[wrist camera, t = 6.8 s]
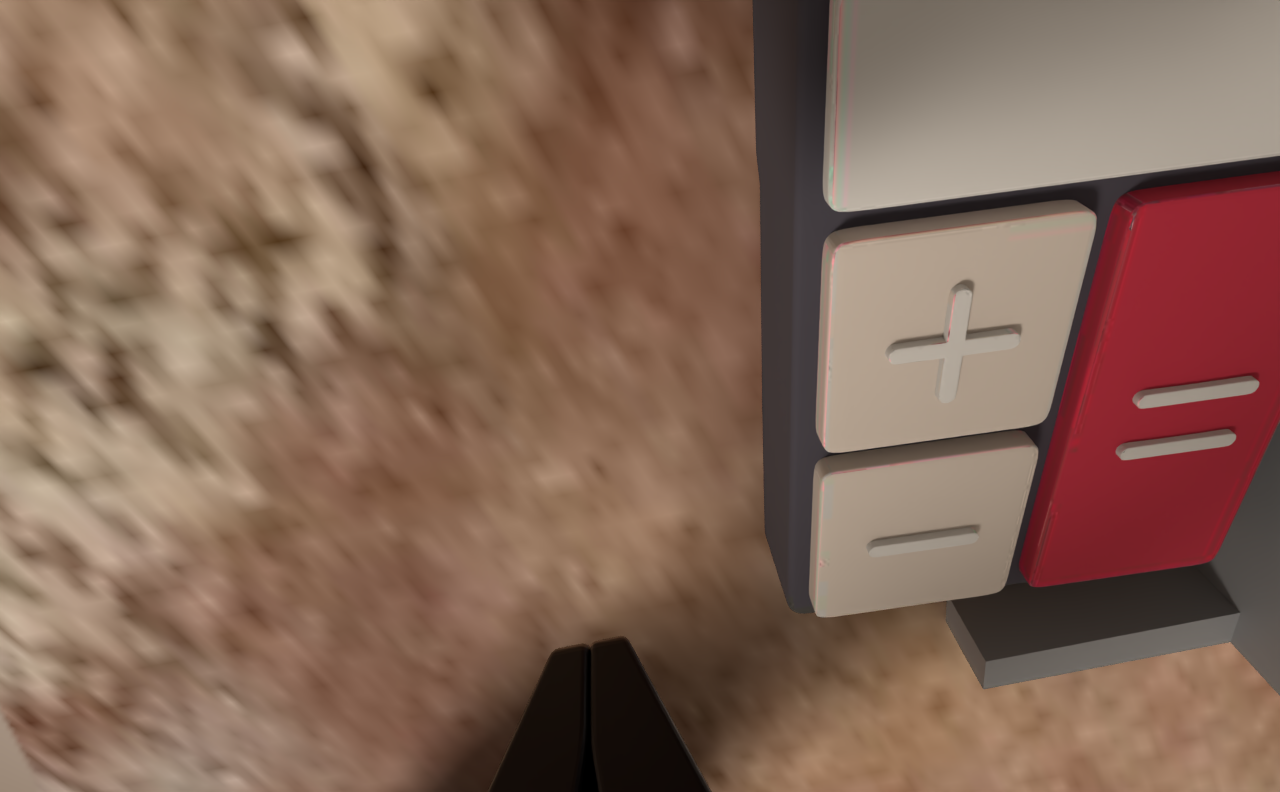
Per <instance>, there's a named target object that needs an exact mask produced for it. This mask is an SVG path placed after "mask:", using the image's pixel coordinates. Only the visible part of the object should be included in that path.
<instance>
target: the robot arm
mask: <svg viewBox="0 0 1280 792" xmlns="http://www.w3.org/2000/svg"><path fill="white" fill-rule="evenodd" d="M488 792H711V790H710V788H709V786H708V784H707V782H706V781H705V779H704V777H703V775H702V773H701V772H700V770H699V768H698V766H697V764H696V762H695V761H694V759H693V757H692V755H691V753H690V751H689V750H688V748H687V746H686V744H685V742H684V740H683V739H682V737H681V735H680V733H679V731H678V729H677V728H676V726H675V724H674V722H673V720H672V719H671V717H670V715H669V713H668V711H667V709H666V708H665V706H664V704H663V702H662V700H661V698H660V697H659V695H658V693H657V691H656V689H655V687H654V686H653V684H652V682H651V680H650V678H649V676H648V675H647V673H646V671H645V669H644V667H643V666H642V664H641V662H640V660H639V658H638V656H637V655H636V653H635V651H634V649H633V647H632V645H631V644H630V642H629V640H628V639H627V638H626V637H624V636H619V637H614V638H609V639H603V640H598V641H595V642H593V643H592V645H591V647H590V646H589V645H587V644H578V645H572V646H567V647H562V648H558V649H555V650H554V651H553V652H552V653H551V655H550V657H549V658H548V661H547V663H546V665H545V667H544V669H543V671H542V674H541V676H540V678H539V680H538V682H537V685H536V687H535V689H534V691H533V693H532V696H531V698H530V700H529V702H528V704H527V707H526V709H525V711H524V713H523V715H522V717H521V720H520V722H519V724H518V726H517V728H516V731H515V733H514V735H513V737H512V739H511V742H510V744H509V746H508V748H507V750H506V752H505V755H504V757H503V759H502V761H501V763H500V766H499V768H498V770H497V772H496V774H495V777H494V779H493V781H492V783H491V785H490V788H489V790H488Z"/></svg>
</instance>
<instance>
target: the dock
mask: <svg viewBox="0 0 1280 792" xmlns="http://www.w3.org/2000/svg"><path fill="white" fill-rule="evenodd" d="M946 622H947V624H948V626H949V628H950V630H951V632H952V633H953V635H954V637H955V639H956V641H957V642H958V644H959V646H960V648H961V650H962V652H963V653H964V655H965V657H966V659H967V661H968V662H969V664H970V666H971V668H972V670H973V672H974V673H975V675H976V677H977V679H978V681H979V683H980V684H981V686H982V688H983V689H988V688H993V687H998V686H1003V685H1009V684H1014V683H1019V682H1024V681H1029V680H1035V679H1040V678H1045V677H1050V676H1056V675H1061V674H1066V673H1071V672H1076V671H1082V670H1087V669H1092V668H1097V667H1102V666H1108V665H1113V664H1118V663H1123V662H1128V661H1134V660H1139V659H1144V658H1149V657H1155V656H1160V655H1165V654H1170V653H1175V652H1181V651H1186V650H1191V649H1196V648H1201V647H1207V646H1212V645H1217V644H1222V643H1228V642H1231V643H1232V644H1233V645H1234V646H1235V648H1236V649H1237V650H1238V651H1239V652H1240V653H1241V654H1242V655H1243V656H1244V657H1245V658H1246V659H1247V661H1248V662H1249V663H1250V664H1251V665H1252V666H1253V667H1254V668H1255V669H1256V670H1257V671H1258V673H1259V674H1260V675H1261V676H1262V677H1263V678H1264V679H1265V680H1266V681H1267V682H1268V683H1269V684H1270V686H1271V687H1272V688H1273V689H1274V690H1275V691H1276V692H1277V693H1278V694H1279V695H1280V422H1279V424H1278V426H1277V428H1276V430H1275V433H1274V435H1273V437H1272V439H1271V441H1270V443H1269V445H1268V448H1267V450H1266V452H1265V454H1264V456H1263V458H1262V460H1261V462H1260V465H1259V467H1258V469H1257V471H1256V473H1255V475H1254V477H1253V479H1252V482H1251V484H1250V486H1249V488H1248V490H1247V492H1246V494H1245V497H1244V499H1243V501H1242V503H1241V505H1240V507H1239V509H1238V511H1237V514H1236V516H1235V518H1234V520H1233V522H1232V524H1231V526H1230V528H1229V531H1228V533H1227V535H1226V537H1225V539H1224V541H1223V543H1222V546H1221V548H1220V550H1219V551H1218V553H1217V554H1216V556H1215V558H1214V559H1213V560H1211V561H1209V562H1207V563H1203V564H1199V565H1193V566H1186V567H1179V568H1172V569H1165V570H1158V571H1151V572H1144V573H1137V574H1130V575H1123V576H1116V577H1109V578H1102V579H1095V580H1088V581H1081V582H1074V583H1067V584H1060V585H1053V586H1046V587H1032V586H1030V585H1029V584H1028V582H1024V583H1017V584H1010V585H1005V586H1004V588H1003V589H1002V590H1001V591H999V592H997V593H993V594H989V595H983V596H976V597H969V598H962V599H955V600H948V601H947V606H946Z"/></svg>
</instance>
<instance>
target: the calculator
mask: <svg viewBox="0 0 1280 792" xmlns="http://www.w3.org/2000/svg"><path fill="white" fill-rule="evenodd" d="M753 36H754V79H755V123H756V154H757V163H758V171H759V180H760V225H761V329H762V415H763V466H764V513H765V534H766V538H767V541H768V544H769V547H770V550H771V554H772V557H773V560H774V563H775V566H776V569H777V572H778V576H779V579H780V582H781V585H782V588H783V591H784V594H785V597H786V601H787V603H788V606H789V607H790V609H791V610H793V611H794V612H797V613H804V614H805V613H814V612H815V613H816V615H817V616H819V617H836V616H843V615H850V614H857V613H864V612H871V611H878V610H885V609H892V608H899V607H906V606H913V605H920V604H927V603H934V602H941V601H948V600H955V599H962V598H969V597H976V596H983V595H989V594H993V593H997V592H999V591H1001V590H1002V589H1003V588H1004V586H1005V585H1010V584H1017V583H1024V582H1028V584H1029V585H1030V586H1032V587H1046V586H1053V585H1060V584H1067V583H1074V582H1081V581H1088V580H1095V579H1102V578H1109V577H1116V576H1123V575H1130V574H1137V573H1144V572H1151V571H1158V570H1165V569H1172V568H1179V567H1186V566H1193V565H1199V564H1203V563H1207V562H1209V561H1211V560H1213V559H1214V558H1215V556H1216V554H1217V553H1218V551H1219V550H1220V548H1221V546H1222V543H1223V541H1224V539H1225V537H1226V535H1227V533H1228V531H1229V528H1230V526H1231V524H1232V522H1233V520H1234V518H1235V516H1236V514H1237V511H1238V509H1239V507H1240V505H1241V503H1242V501H1243V499H1244V497H1245V494H1246V492H1247V490H1248V488H1249V486H1250V484H1251V482H1252V479H1253V477H1254V475H1255V473H1256V471H1257V469H1258V467H1259V465H1260V462H1261V460H1262V458H1263V456H1264V454H1265V452H1266V450H1267V448H1268V445H1269V443H1270V441H1271V439H1272V437H1273V435H1274V433H1275V430H1276V428H1277V426H1278V424H1279V422H1280V0H753Z"/></svg>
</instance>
